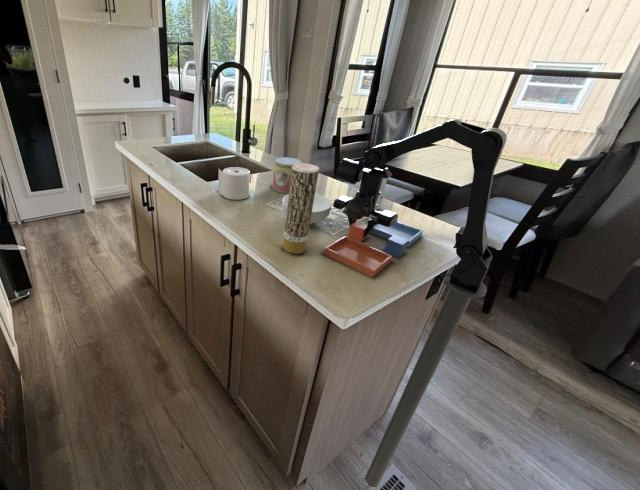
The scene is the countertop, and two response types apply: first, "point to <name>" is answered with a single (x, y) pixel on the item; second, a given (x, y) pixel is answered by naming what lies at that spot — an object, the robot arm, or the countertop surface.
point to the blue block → (396, 246)
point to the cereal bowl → (314, 208)
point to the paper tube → (300, 207)
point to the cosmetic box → (381, 193)
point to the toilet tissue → (234, 183)
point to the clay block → (357, 231)
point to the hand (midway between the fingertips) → (358, 234)
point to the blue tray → (397, 232)
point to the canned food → (283, 173)
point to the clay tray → (358, 255)
